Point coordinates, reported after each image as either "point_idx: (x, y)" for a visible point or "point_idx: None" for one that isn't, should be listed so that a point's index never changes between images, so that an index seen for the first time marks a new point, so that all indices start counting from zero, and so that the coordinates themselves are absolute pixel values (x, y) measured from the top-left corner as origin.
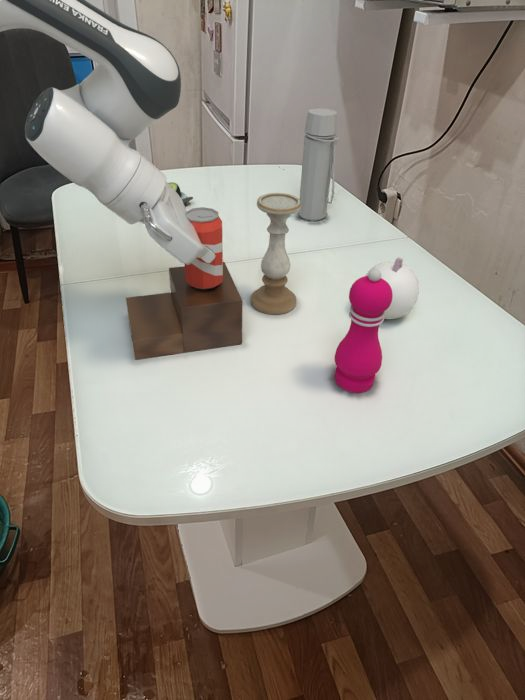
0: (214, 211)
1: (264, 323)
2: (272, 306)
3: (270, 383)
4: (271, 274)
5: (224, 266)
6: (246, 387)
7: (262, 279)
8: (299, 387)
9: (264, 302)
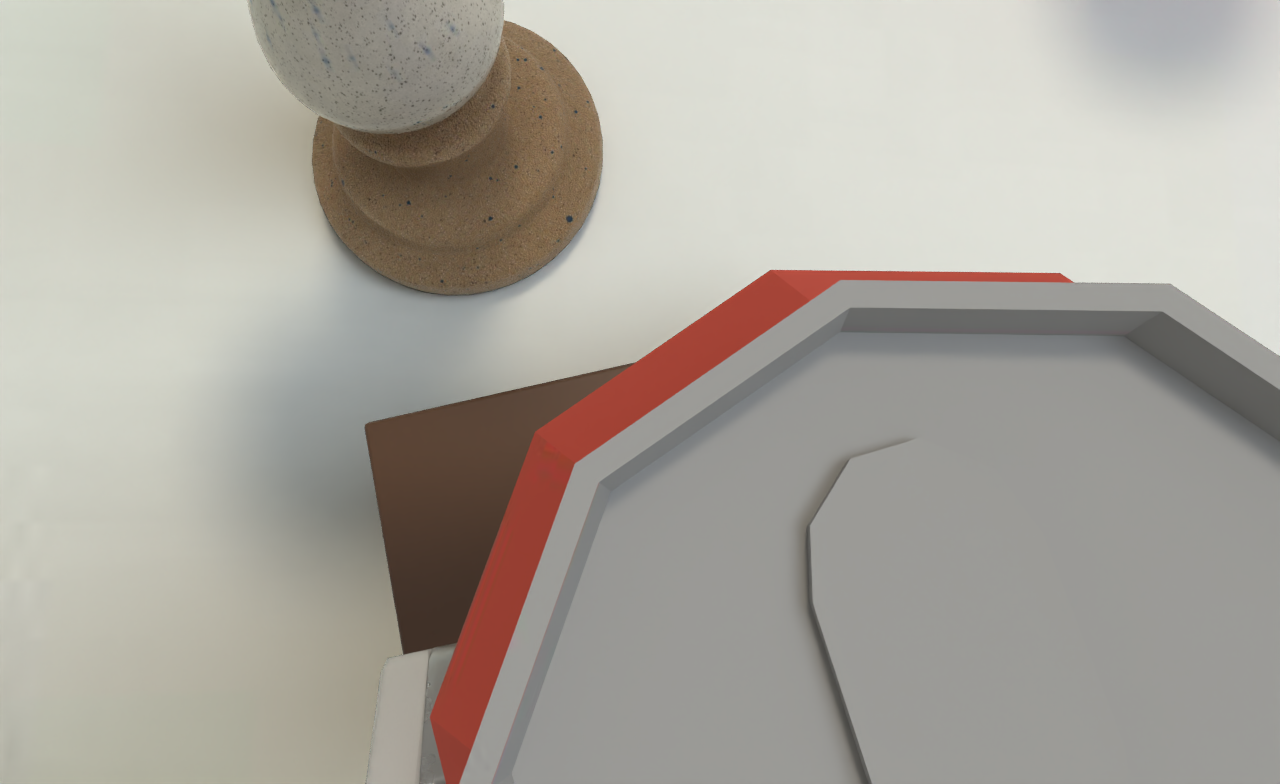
0: (722, 404)
1: (686, 227)
2: (570, 157)
3: (1230, 227)
4: (495, 57)
5: (450, 423)
6: (1274, 352)
7: (422, 161)
8: (1249, 88)
9: (543, 199)
